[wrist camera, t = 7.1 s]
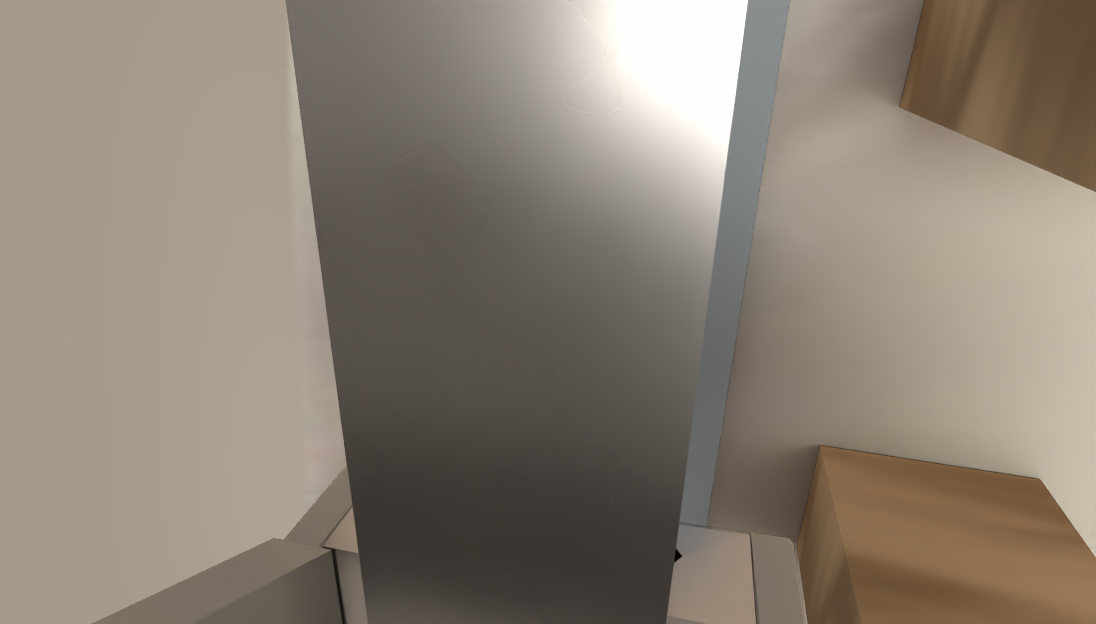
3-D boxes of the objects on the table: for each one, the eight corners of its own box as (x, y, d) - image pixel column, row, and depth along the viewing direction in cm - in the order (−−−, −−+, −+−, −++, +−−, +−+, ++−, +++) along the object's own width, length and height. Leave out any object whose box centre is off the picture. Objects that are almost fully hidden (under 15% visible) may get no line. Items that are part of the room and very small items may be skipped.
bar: (622, 904, 14) (596, 1155, 11) (490, 865, 15) (430, 1092, 12) (807, -612, 5) (960, -1642, 2) (447, -552, 6) (118, -1266, 3)
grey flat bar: (691, 612, 24) (690, 624, 23) (558, 584, 25) (556, 594, 24) (836, -307, 13) (840, -319, 13) (596, -288, 14) (592, -299, 14)
